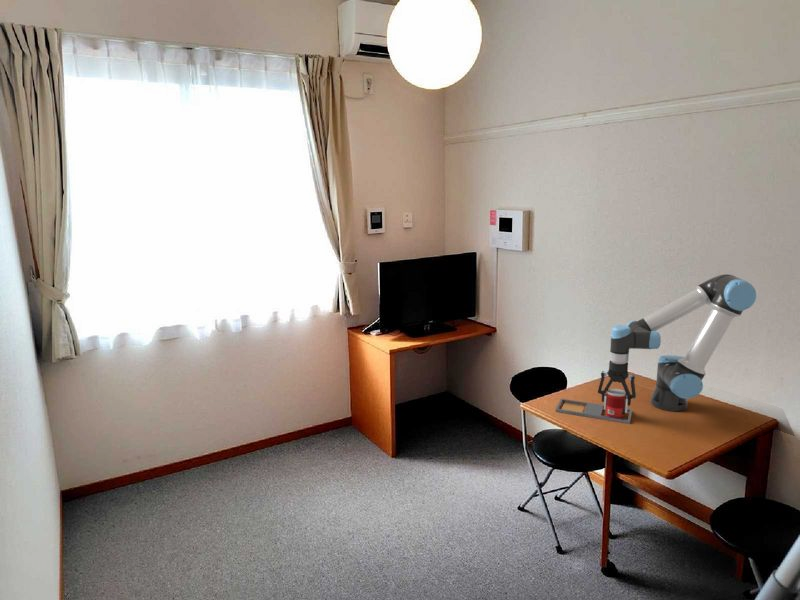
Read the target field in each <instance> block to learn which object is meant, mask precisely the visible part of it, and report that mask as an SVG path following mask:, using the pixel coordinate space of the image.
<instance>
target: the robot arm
mask: <svg viewBox="0 0 800 600" xmlns="http://www.w3.org/2000/svg"><path fill="white" fill-rule="evenodd" d="M756 300H757V291H756V288H755V287H754V285H752V283H750V282H748V281H747V280H745V279H742V278H739V277H738V276H735V275H733V274H719V275H717V276H714V277H711V278H710V279H708V280H706V281H704V282H702V283H700V284H698V285H697V286H696V287H695V289H694V290H692V291H690V292H687V294H685V295H683V296H681V297H679V298H678V299H676V300H674V301H672V302H671V303H669V304H667V305H665V306H663V307H661V308H659V309H657V310H656V311H653V312H652V313H650V314H648V315H646V316H645V317H643V318H641V319H639V320H630V321H629V322H628V323H627V324H626V325H622V324H620V325H619V324H618V325H617V324H615V325H613V327H612V328H611V334H610V346H609V347H610V350H609V363H608V364H609V365H608V371H604V370H602V371H600V372H601V373H600V377H601V378H600V381H599V385H598V389H597V393H598V394H600V395H601V402H602V403H603V405H604V408H603V411H606V398H607V390H608V389H610V387H611V385H612V384H613V382H614V383H619V384H621V385H622V387H623V390H624V391H625V392H626V406H625V414H627V413H628V412H627V408H628V407H629V406H631V404H632V399H636V396H637V392H636V384H635V379H636V375H635V374H629V371H628V370H629V363H628V362H629V359H630V358H629V355H630V354H629V353H630V349H633V350H635V349H636V350H657V349H659V348H660V346H661V341H662V339H661V334H660V332H659V331H658V330H660V329H662V328H664V327H666V326H668V325H670V324H672V323H674V322H675V321H677V320H679V319H681V318H683V317H684V316H687V315H688V314H689V315H690V313H693V312H695V311H696V310H699V309H700V308H702V307H704V306H705V305H709V306H711V309H710V311H709V312H708V313H709V314H708V315H707V316H706V319H705V320H704V323H702V326H701V327H700V329H699V331H698V332H697V335H696V336H695V338H694V340H693V341H692V343H691V345H690V346H689V348H688V350H687V351H686V353H685V355H684V356H681V355H676V354H675V355H674V354H671V355H670V354H663V355H660V356H659V357H658V358H657V359H658V360H657V368H656V369H657V370H656V383H655V387H654V390H653V391H652V394H651V396H650V404H651V405H652V406H654V407H655V408H657V409H660V410H665V411H668V412H669V411H670V412H682V411H685V410H687V408H688V400H689V399H692V398H695V397H697V396H699V395H700V394H701V392H702V391H703V389H704V384H703V383H704V382H703V379H704V377H705V376H706V374H707V373H706V370H705V367H706V366H707V364H708V362H709V361H710V359H711V357H712V355H714V352H715V351H716V349H717V347H718V346H719V344H720V342H721V340H722V339H723V337H724V336H725V333H726V332H727V330H728V329H729V327H730V325H731V324H732V322H733V321H734V319H736V318H738V317H740V316H741V315H742V313H743V312H744V311H746V310H748V309H751V307H752V306H753V305H754V304H755V302H756ZM607 376H608V377H609V380H608V382H607V383H606V385H605V387H604V388H603V385H604V382H605V378H606V377H607ZM627 378H628V379H629V381H630V387H631V392H630V390H629V387H628V384H627V381H626V380H627ZM602 389H603V390H602ZM628 409H629V408H628Z"/></svg>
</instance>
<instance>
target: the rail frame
mask: <svg viewBox="0 0 800 600" xmlns="http://www.w3.org/2000/svg"><path fill="white" fill-rule="evenodd" d="M562 404H563V405H562ZM561 406H562V407H561ZM583 411H584V412H583ZM603 411H604V404H601V403H600V404H599V403H593V402H586V401H579V400H574V399H566V398H560V400H559V402H558V404H557V405H556V408H555V413H562V414H567V415H573V416H574V415H575V416H579V415H580V416H581V417H585V418H586V417H588V418H593V419H599V420H604V421H610V422H611V421H612V422H617V423H623V424H629V425H630V424H631V420H632V414H633V408H627V413H628V417H627V419H625V418H614V417H609V416H607V415H602V414H603Z"/></svg>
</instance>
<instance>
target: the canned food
mask: <svg viewBox="0 0 800 600" xmlns="http://www.w3.org/2000/svg"><path fill="white" fill-rule="evenodd" d="M606 394H607V398H606V410H605V416H607V417H614V418H620V419H624V417H625V416H626V413H625V406H626V397H627V395H626V392H625V390H624V389H620V388H609V389H608V390H607V392H606Z"/></svg>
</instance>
